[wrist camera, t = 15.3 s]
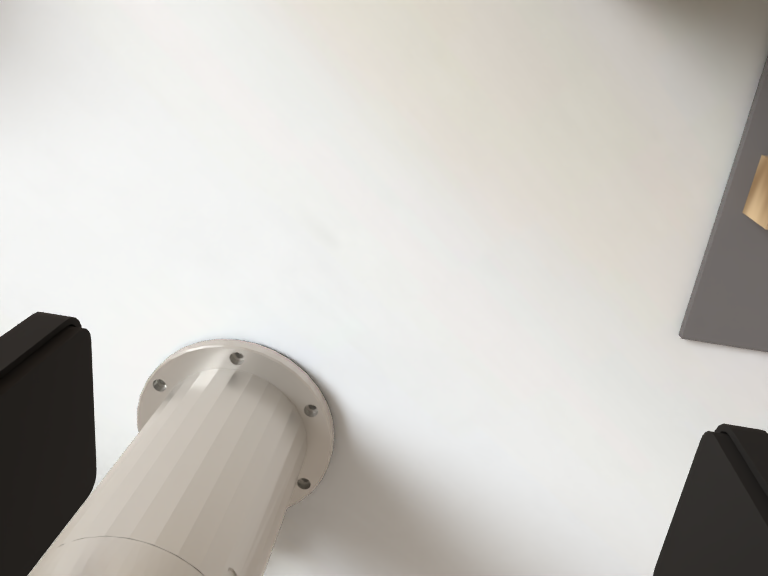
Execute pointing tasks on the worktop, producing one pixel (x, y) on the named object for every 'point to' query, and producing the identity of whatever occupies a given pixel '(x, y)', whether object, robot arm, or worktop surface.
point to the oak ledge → (759, 195)
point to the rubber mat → (735, 253)
